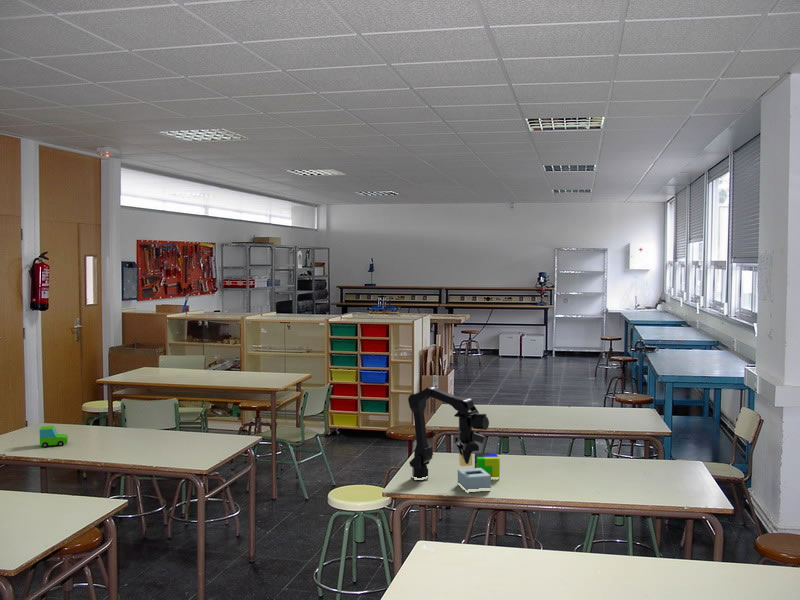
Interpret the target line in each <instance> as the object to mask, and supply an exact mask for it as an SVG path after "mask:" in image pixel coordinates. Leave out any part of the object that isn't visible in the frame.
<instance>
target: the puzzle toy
mask: <svg viewBox="0 0 800 600" xmlns="http://www.w3.org/2000/svg"><path fill="white" fill-rule="evenodd" d="M500 461H501V460H500V457H499V455H498V454H497V453H496V452H475V453H474V468H482V469H483V470H484V471H486V472H487V473H488V474H489V475H491V477H499V478H500V472H501V471H500V466H501V464H500Z"/></svg>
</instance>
